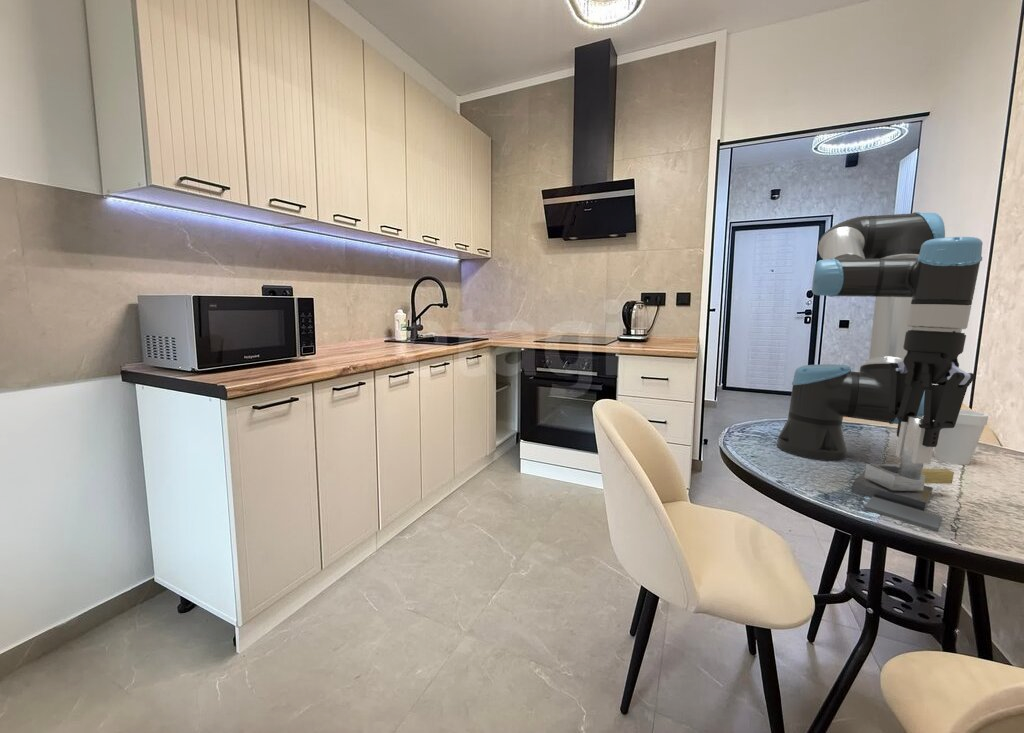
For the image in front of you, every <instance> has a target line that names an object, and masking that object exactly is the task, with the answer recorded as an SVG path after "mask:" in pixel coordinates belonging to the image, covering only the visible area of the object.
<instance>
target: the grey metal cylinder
mask: <svg viewBox="0 0 1024 733" xmlns="http://www.w3.org/2000/svg"><path fill="white" fill-rule="evenodd" d="M919 424H923V417H920V416H908V422H907V428H906V433H905V439H904V445H903V450H902V456H901V457H900V463H899V466H900V468H899V473H898V474H899V475H900V476H902V477H905V478H909V479H915V480H920V479H921V474H922V469H924V468H923V467H924V464H922V463H913V462H911V460H912V455H913V449H914V444H915V438H916V433H917V427H919Z"/></svg>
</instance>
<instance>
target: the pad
mask: <svg viewBox="0 0 1024 733" xmlns="http://www.w3.org/2000/svg"><path fill="white" fill-rule="evenodd" d="M863 509H864V510H865V511H869V512H872V513H875V514H878V515H882V516H885V517H887V518H891V519H894V520H898V521H901V522H905V523H908V524H911V525H915V526H918V527H921V528H925V529H926V530H927V529H928V530H931V531H933V532H934V531H935V532H939V529H940V525H941V524H942V520H943V518H944V517H943V516H942V515H939V514H935V513H932V512H928V511H926V510H925V511H922V510H918V509H915V508H911V507H908V506H904V505H901V504H897V503H894V502H890V501H887V500H883V499H880V498H876V497H873V496H872V497H870V498H869V500H868V501H867V502H866V504H864V506H863Z"/></svg>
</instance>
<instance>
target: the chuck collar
mask: <svg viewBox="0 0 1024 733" xmlns="http://www.w3.org/2000/svg"><path fill="white" fill-rule="evenodd" d="M865 465H866V466H865V470H864V471H865V478H867V479H869V480H871V481H874V482H876V483H878V484H880V485H882V486H884V487H887V488H889V489H891V490H904V491H923V489H924V486H925V484H940V485H941V484H949V485H950V484H951V485H952V484H953V480H954V474H955V471H952V470H950V469H947V468H923V469H922V474H921V479H920V480H915V479H909V478H905V477H902V476H900V475H899V474H898V473H899V468H900V464H899V465H898V464H896V463H895V464H894V463H866V464H865Z"/></svg>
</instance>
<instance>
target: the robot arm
mask: <svg viewBox="0 0 1024 733" xmlns="http://www.w3.org/2000/svg"><path fill="white" fill-rule="evenodd" d="M817 246H818V248H817V250H818V254H819V256H820V258H821V259H820V260H818V261H816V263H814V270H813V277H812V282H811V292H812V294H813V295H815V296H823V297H825V296H827V297H830V298H833V297H834V298H835V297H863V298H864V297H865V298H866V297H872V298H873V297H874V299H875V301H874V307H873V308H874V310H873V318H872V328H871V338H870V344H869V345H870V349H869V355H868V356H869V357H868V360H867V361H866V362H863V364H861V365H860V367H859V371H852V368H851V366H850V365H848V364H847V365H846V364H832V363H831V364H830V363H828V364H827V363H826V364H807V365H802V366H801V365H800V366H799V367H797V368H796V369H795V371H794V374H793V379H792V380H793V381H792V382H791V385H792V390H791V395H790V402H789V409H788V417H787V420H786V422H785V424H783V427H782V429H781V431H780V432H779V435H778V436H777V442H776V446H777V448H779V449H780V450H782V451H784V452H787V453H790V454H792V455H795V456H799V457H803V458H807V459H811V460H812V459H813V460H819V461H826V462H827V461H830V462H833V461H834V462H836V461H843V460H845V459H847V458H846V456H847V452H848V451H847V445H846V441H845V436H844V432H843V429H842V425H843V419H844V417H845V418H850V419H858V420H865V421H873V422H879V423H880V422H881V423H887V424H889V425H893V424H895V425H897V429H896V437H898V438H897V444H896V448H895V450H896V451H895V454H894V456H896V457H898V458H901V456H902V450H903V445H904V439H905V433H906V428H907V422H908V416H920V417H923V424H919V427H917V433H916V438H915V444H914V449H913V455H912V460H911V462H913V463H922V464H923V465H925V464H926V465H927V464H928V465H930V464H931V461H932V457H933V456H932V455H933V453H934V447H936V446H937V443H938V442H937V441H938V438H939V432H940V430H941V429H943V428H954V427H955V424H956V421H957V418H958V415H959V412H960V409H962V406H963V402H964V400H965V396H966V393H967V390H968V387H969V386H970V385H971V384H972V382H973V381H974V379H976V375H975V373H973V372H966V371H964V370H963V369H961V368H960V364H959V360H958V357H959V355H961V354H962V353H963V352H964V350H965V349H964V348H965V344H966V339H967V335H966V333H965V332H962V330H966V329H968V326H969V321H970V315H971V310H972V305H973V300H974V294H975V291H976V290H975V289H976V285H977V279H978V276H979V275H978V274H979V270H980V264H981V262H982V261H983V256H982V253H983V241H982V240H981V238H979V237H975V236H949V237H948V236H947V237H946V229H945V222H944V220H943V218H942V216H940V214H938V213H936V212H918V211H917V212H912V213H899V214H883V215H880V214H879V215H864V216H863V215H862V216H856V217H852V218H849V219H846V220H843V221H842V222H841V221H840V222H839V223H837V224H836V225H834V226H832V227H830V228H829V229H828V230H826V231H825V232H824V234H822V236H821V237H820V238H819V241H818V245H817Z"/></svg>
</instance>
